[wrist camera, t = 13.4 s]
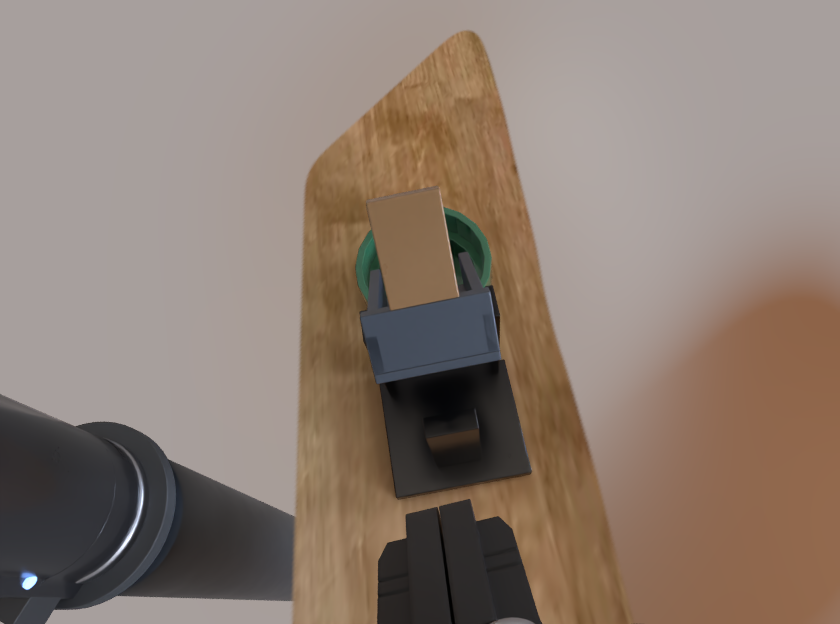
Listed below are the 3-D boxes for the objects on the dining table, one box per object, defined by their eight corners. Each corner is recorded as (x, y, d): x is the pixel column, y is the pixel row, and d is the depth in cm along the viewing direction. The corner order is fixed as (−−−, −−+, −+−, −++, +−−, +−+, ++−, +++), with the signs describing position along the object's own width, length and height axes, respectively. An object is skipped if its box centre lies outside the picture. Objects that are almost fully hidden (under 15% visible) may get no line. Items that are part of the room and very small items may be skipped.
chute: (501, 359, 29) (472, 181, 26) (376, 384, 30) (332, 209, 26) (474, 289, 39) (450, 151, 36) (378, 308, 39) (347, 172, 36)
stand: (531, 474, 41) (542, 435, 32) (397, 499, 42) (369, 468, 32) (501, 350, 45) (502, 282, 36) (379, 374, 45) (349, 313, 36)
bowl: (460, 370, 45) (456, 344, 40) (347, 324, 47) (332, 294, 43) (510, 264, 48) (512, 229, 44) (401, 226, 51) (392, 189, 46)
